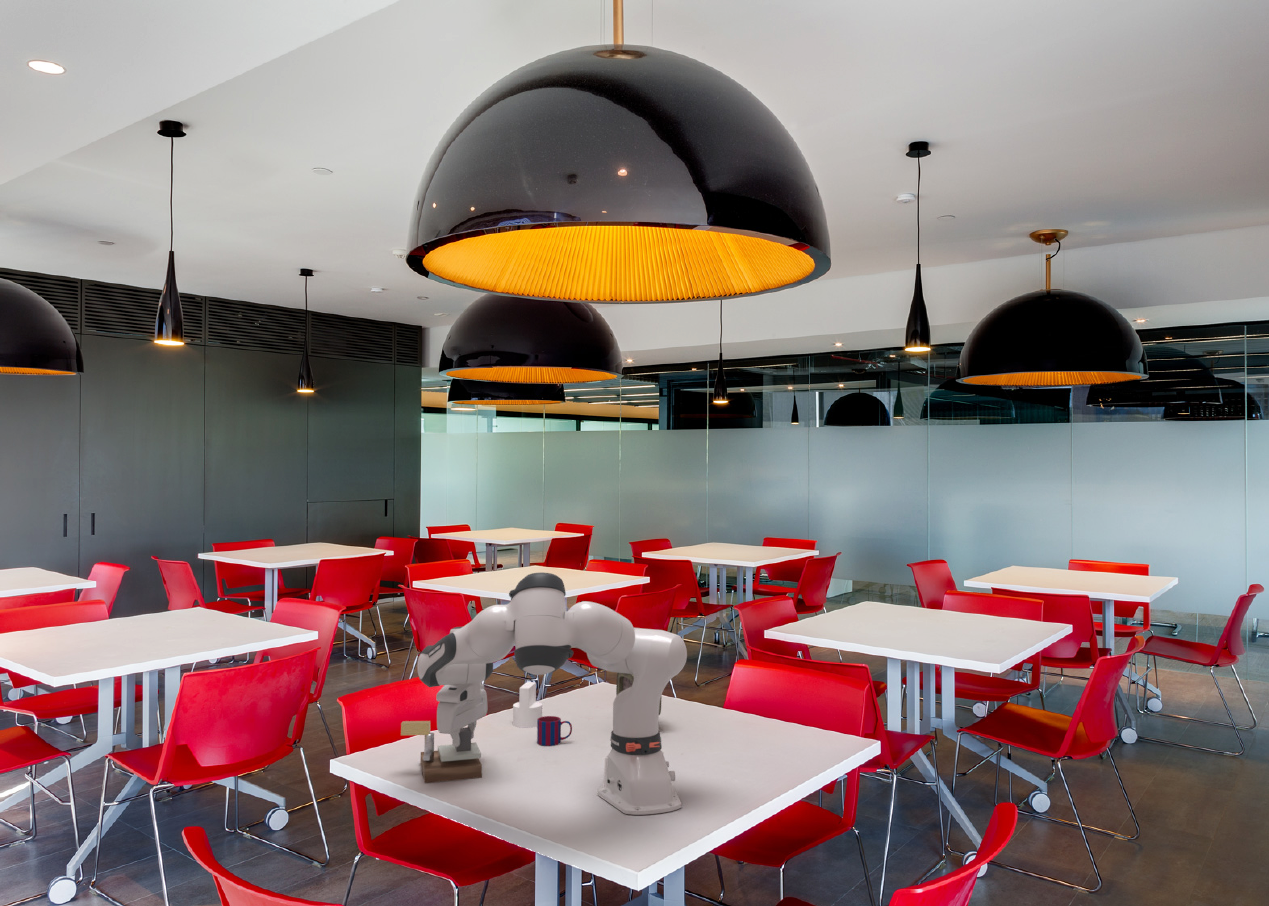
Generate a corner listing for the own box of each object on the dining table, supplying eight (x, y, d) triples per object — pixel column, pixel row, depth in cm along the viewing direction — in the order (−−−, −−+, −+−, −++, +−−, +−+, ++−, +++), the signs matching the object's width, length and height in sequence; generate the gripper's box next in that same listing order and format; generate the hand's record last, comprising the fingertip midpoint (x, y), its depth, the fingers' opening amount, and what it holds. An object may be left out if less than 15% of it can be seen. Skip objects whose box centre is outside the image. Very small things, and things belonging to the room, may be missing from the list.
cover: (481, 758, 216) (481, 733, 216) (441, 761, 213) (441, 736, 213) (475, 746, 226) (476, 723, 226) (437, 750, 222) (437, 726, 223)
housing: (481, 777, 214) (481, 765, 214) (424, 783, 210) (424, 770, 210) (473, 758, 229) (473, 747, 229) (420, 763, 225) (420, 752, 225)
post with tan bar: (397, 765, 212) (398, 726, 213) (402, 759, 218) (403, 721, 218) (431, 765, 213) (431, 726, 213) (434, 758, 218) (435, 720, 219)
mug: (541, 738, 248) (541, 715, 249) (574, 741, 246) (574, 717, 247) (534, 745, 242) (534, 721, 242) (567, 747, 240) (568, 723, 240)
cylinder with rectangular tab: (517, 719, 269) (517, 681, 270) (545, 720, 268) (545, 682, 269) (509, 727, 261) (509, 687, 261) (537, 728, 259) (538, 688, 260)
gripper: (472, 679, 231) (472, 730, 231) (432, 696, 212) (431, 752, 211) (493, 681, 229) (492, 732, 229) (454, 698, 210) (454, 754, 209)
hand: (463, 742), depth 220 cm, fingers closed on cover, 5 cm apart
